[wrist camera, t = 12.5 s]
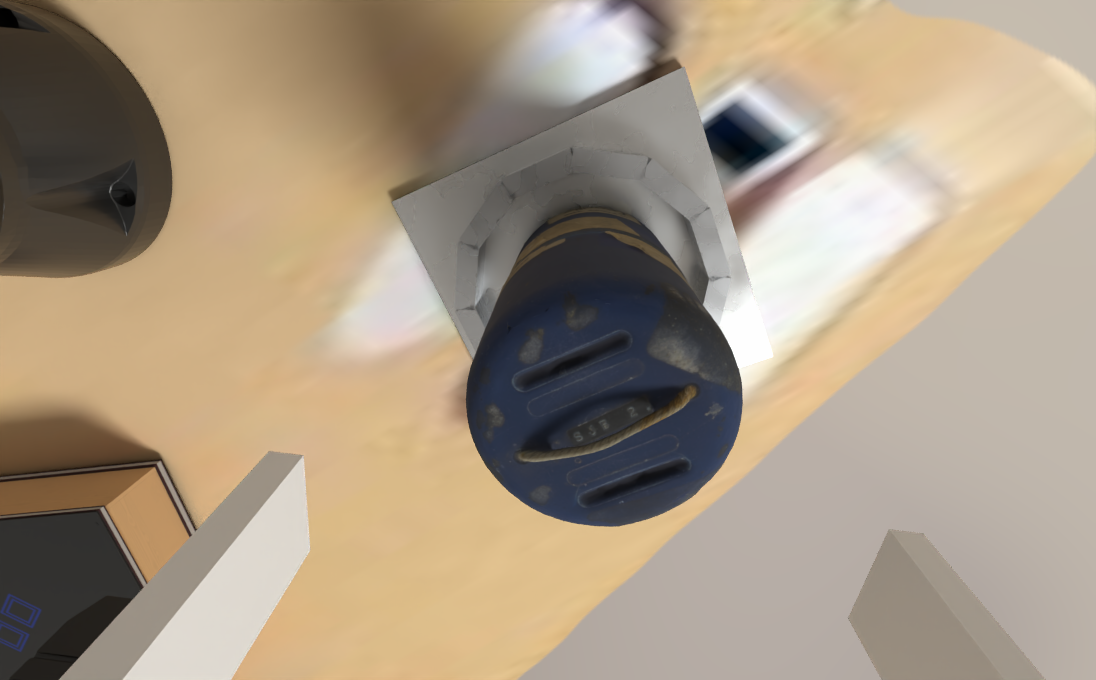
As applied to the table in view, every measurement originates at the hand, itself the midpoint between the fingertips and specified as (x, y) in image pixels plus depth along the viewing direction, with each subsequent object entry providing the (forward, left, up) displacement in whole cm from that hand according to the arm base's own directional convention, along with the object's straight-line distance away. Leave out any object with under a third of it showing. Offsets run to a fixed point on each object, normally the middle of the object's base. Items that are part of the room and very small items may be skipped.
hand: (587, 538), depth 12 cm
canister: (0, 0, -23) cm, 23 cm away
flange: (0, 0, -23) cm, 23 cm away
